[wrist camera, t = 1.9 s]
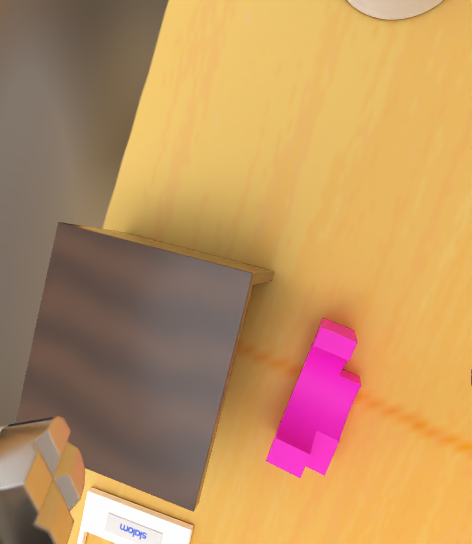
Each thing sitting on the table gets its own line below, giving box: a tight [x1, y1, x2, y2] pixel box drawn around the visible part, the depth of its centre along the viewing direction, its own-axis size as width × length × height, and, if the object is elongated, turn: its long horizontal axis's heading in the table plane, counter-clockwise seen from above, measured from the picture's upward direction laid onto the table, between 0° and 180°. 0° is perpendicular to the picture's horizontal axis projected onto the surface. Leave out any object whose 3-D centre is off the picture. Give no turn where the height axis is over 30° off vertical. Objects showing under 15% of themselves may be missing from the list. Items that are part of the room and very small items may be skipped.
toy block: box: [266, 318, 361, 478], centre depth 46 cm, size 15×6×8 cm, turn 159°
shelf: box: [15, 222, 274, 511], centre depth 47 cm, size 23×20×14 cm
